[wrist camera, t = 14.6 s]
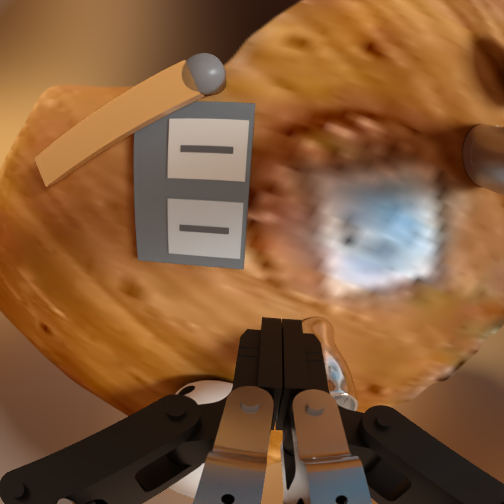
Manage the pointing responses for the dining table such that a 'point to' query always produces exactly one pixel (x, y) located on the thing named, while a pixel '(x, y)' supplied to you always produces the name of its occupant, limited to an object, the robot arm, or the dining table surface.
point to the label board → (194, 185)
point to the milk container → (202, 395)
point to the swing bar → (131, 114)
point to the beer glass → (333, 363)
